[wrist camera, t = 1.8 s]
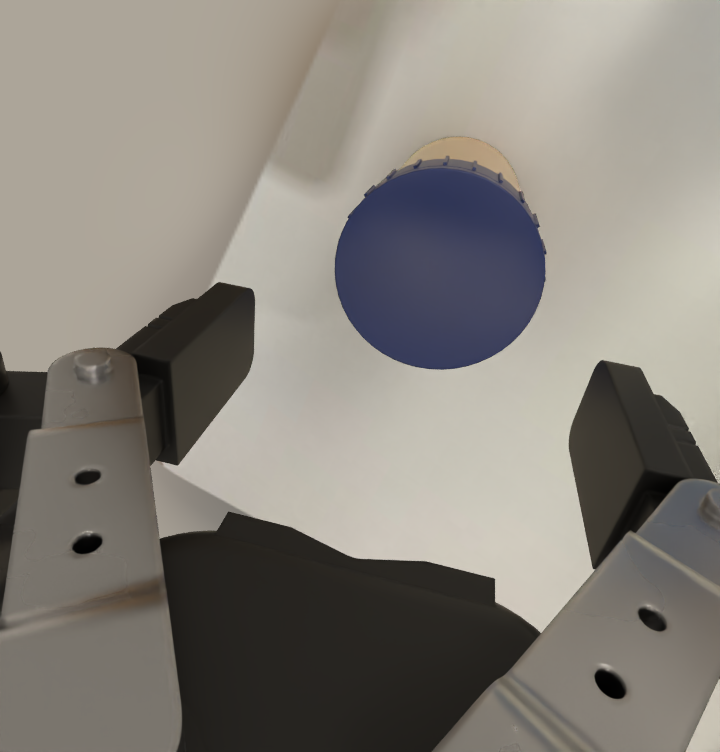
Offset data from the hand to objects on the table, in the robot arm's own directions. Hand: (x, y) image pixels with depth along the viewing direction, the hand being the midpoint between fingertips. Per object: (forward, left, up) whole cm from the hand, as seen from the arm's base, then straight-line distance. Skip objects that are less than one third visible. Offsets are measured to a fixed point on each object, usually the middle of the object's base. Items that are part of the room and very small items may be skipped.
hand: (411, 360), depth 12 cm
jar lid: (0, 0, -6) cm, 6 cm away
